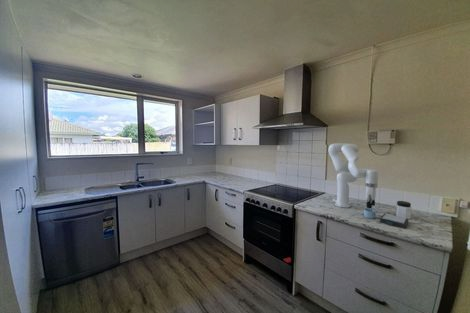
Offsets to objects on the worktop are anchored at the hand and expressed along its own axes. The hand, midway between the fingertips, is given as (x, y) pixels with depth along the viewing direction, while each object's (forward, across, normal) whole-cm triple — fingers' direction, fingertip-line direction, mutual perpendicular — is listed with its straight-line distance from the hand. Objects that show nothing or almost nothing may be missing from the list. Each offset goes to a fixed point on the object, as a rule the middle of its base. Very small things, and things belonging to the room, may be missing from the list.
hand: (370, 206), depth 148 cm
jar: (+9, -19, +17) cm, 28 cm away
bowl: (+9, 0, -1) cm, 9 cm away
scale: (+9, -1, +14) cm, 17 cm away
